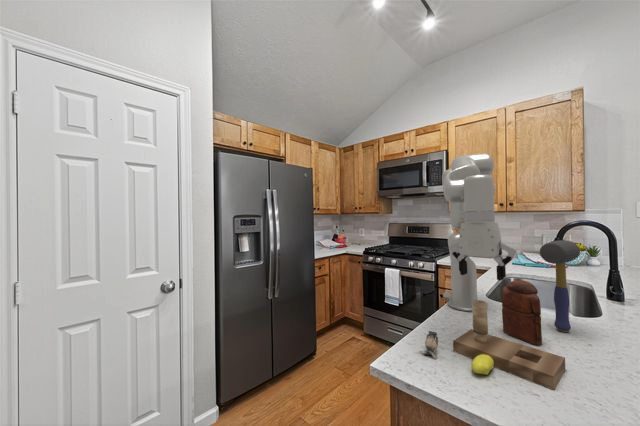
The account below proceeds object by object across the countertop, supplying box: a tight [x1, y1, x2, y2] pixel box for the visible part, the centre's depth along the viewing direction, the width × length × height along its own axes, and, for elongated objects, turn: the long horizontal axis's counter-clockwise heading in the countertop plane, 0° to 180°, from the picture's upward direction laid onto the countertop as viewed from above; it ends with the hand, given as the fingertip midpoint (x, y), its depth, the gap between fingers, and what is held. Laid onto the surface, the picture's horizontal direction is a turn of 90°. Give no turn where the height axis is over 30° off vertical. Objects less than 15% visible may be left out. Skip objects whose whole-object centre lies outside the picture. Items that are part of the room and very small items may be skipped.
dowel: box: [472, 299, 489, 343], centre depth 75 cm, size 4×4×11 cm
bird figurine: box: [417, 330, 441, 360], centre depth 75 cm, size 5×5×6 cm
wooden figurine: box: [501, 279, 543, 346], centre depth 83 cm, size 12×6×18 cm, turn 23°
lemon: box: [471, 354, 494, 376], centre depth 66 cm, size 4×8×4 cm, turn 123°
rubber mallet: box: [539, 239, 581, 333], centre depth 87 cm, size 12×8×30 cm, turn 119°
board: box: [452, 328, 566, 391], centre depth 71 cm, size 22×12×3 cm, turn 38°
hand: (481, 276), depth 76 cm, fingers open, 9 cm apart
